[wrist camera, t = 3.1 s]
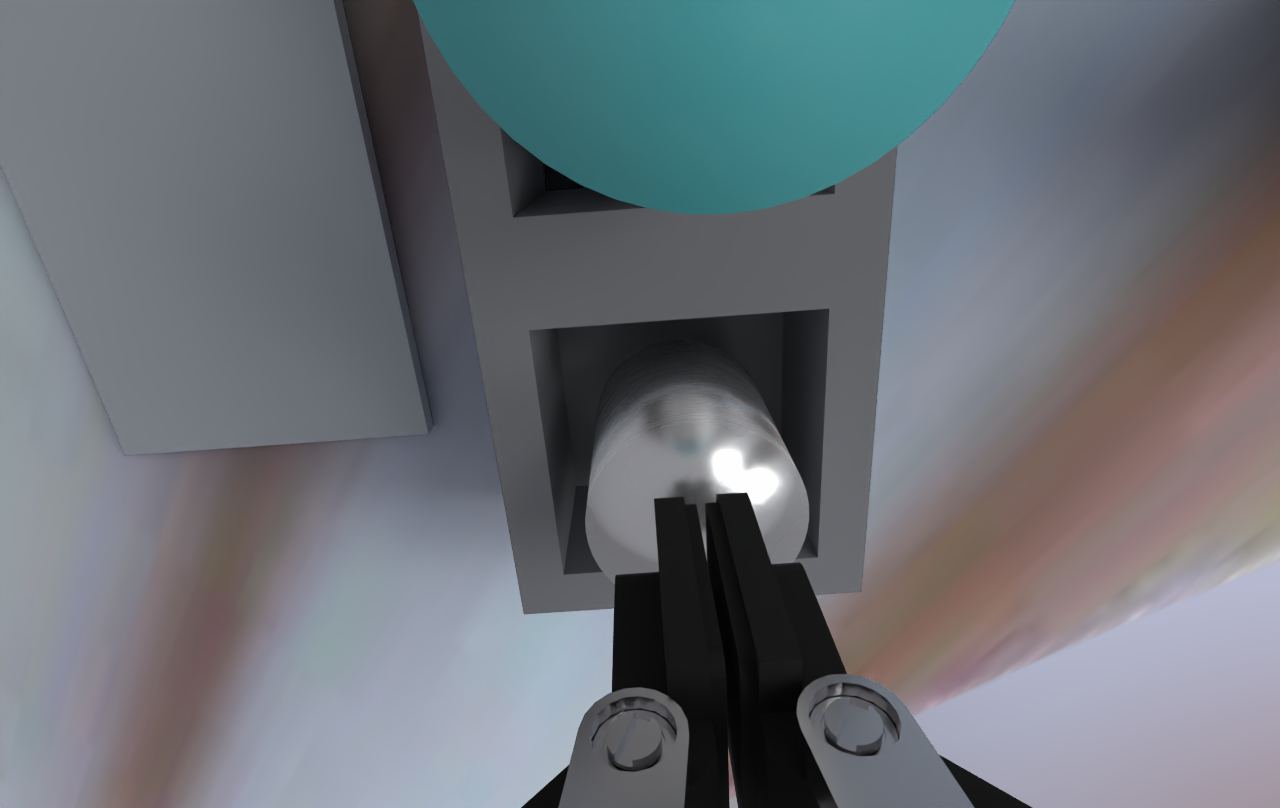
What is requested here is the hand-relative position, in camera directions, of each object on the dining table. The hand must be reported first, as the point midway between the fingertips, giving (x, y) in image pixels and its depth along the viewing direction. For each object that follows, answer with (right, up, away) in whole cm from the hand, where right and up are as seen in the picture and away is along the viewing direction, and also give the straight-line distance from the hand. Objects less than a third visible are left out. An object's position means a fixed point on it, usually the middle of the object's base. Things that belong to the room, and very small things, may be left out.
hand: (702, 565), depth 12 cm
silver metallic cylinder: (0, +2, +6) cm, 6 cm away
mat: (-13, +8, +7) cm, 17 cm away
